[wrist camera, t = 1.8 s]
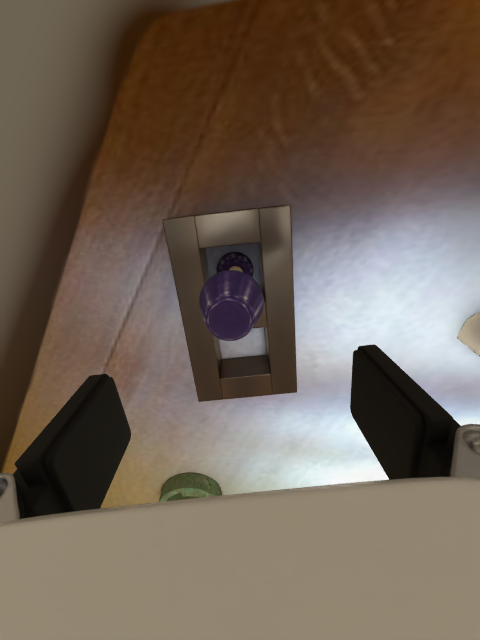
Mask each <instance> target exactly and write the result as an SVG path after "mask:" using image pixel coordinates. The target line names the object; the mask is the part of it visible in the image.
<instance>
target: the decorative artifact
mask: <svg viewBox="0 0 480 640" xmlns="http://www.w3.org/2000/svg"><path fill="white" fill-rule="evenodd" d="M213 496H222V492H221V489H220V487H219V485H218V484H217V483H216V482H215V481H214V480H213V479H211V478H209V477H207V476H205V475H201V474H197V473H184V474H179V475H176V476H174V477H172V478H171V479H169V480H168V481H167V482H166V483H165V484H164V486H163V488H162V492H161V496H160V499H159V502H165V501H174V500H184V499H194V498H204V497H213Z"/></svg>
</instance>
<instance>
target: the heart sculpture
mask: <svg viewBox="0 0 480 640" xmlns="http://www.w3.org/2000/svg"><path fill="white" fill-rule="evenodd" d="M457 338H458V339H459V340H460V341H461V342H463V343H464V344H465V345H466V346H468V347H469V348H470V349H471V350H473V351H474V352H475V353H477V354H478V355H479V356H480V312H479V313H477V314H475V315H473V316H472V317H470V318H469V319H467V321H466V322H465V323H464V325H463V327H462V328H461V330H460V332H459V335H458V337H457Z"/></svg>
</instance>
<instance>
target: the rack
mask: <svg viewBox="0 0 480 640" xmlns="http://www.w3.org/2000/svg"><path fill="white" fill-rule="evenodd" d="M163 225H164V230H165V235H166V240H167V245H168V250H169V255H170V260H171V265H172V270H173V275H174V280H175V285H176V290H177V295H178V300H179V305H180V310H181V316H182V321H183V326H184V331H185V336H186V341H187V346H188V351H189V356H190V361H191V366H192V371H193V376H194V381H195V386H196V391H197V396H198V401H199V402H201V401H211V400H222V399H232V398H243V397H253V396H264V395H272V394H284V393H294V392H297V375H296V346H295V316H294V286H293V257H292V227H291V205H281V206H272V207H263V208H254V209H246V210H237V211H228V212H219V213H211V214H202V215H193V216H184V217H176V218H168V219H163ZM254 242H258V249H259V261H260V274H261V287H262V289H261V290H262V292H263V297H264V307H263V311H262V314H261V316H260V318H259V320H258V321H257V323H256V324H255V326H254V327H253V328H260V327H265V337H266V350H267V355H263V356H253V357H243V358H233V359H223V360H222V359H221V352H220V345H219V339H218V338H217V337H215V336H214V335H213V334H212V333H211V332H210V331H209V330H208V328H207V326H206V324H205V321H204V319H203V316H202V313H201V310H200V306H199V298H200V293H201V290H202V288H203V286H204V284H205V283H206V282H207V280H209V272H208V266H207V259H206V252H205V248H209V247H218V246H227V245H236V244H245V243H254Z"/></svg>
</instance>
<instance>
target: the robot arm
mask: <svg viewBox="0 0 480 640" xmlns="http://www.w3.org/2000/svg"><path fill="white" fill-rule="evenodd" d="M350 408H351V413H352V416H353V418H354V420H355V421H356V423H357V425H358V427H359V428H360V430H361V432H362V433H363V435H364V437H365V439H366V440H367V442H368V444H369V445H370V447H371V449H372V451H373V452H374V454H375V456H376V457H377V459H378V461H379V463H380V464H381V466H382V468H383V469H384V471H385V473H386V475H387V476H388V478H389V480H381V481H368V482H356V483H345V484H335V485H325V486H314V487H304V488H293V489H283V490H273V491H263V492H253V493H243V494H233V495H223V496H213V497H204V498H194V499H184V500H174V501H165V502H156V503H147V504H137V505H128V506H119V507H110V508H100V507H101V505H102V502H103V500H104V498H105V496H106V493H107V491H108V489H109V487H110V484H111V482H112V480H113V478H114V475H115V473H116V471H117V468H118V466H119V464H120V462H121V459H122V457H123V455H124V453H125V450H126V448H127V446H128V444H129V441H130V438H131V431H130V427H129V424H128V421H127V418H126V415H125V412H124V409H123V406H122V403H121V400H120V397H119V394H118V391H117V388H116V385H115V382H114V380H113V378H112V377H109V376H108V375H107V374H101V375H92V376H89V377H88V378H87V379H86V381H85V382H84V383H83V384H82V385H81V386H80V388H79V389H78V390H77V391H76V392H75V393H74V395H73V396H72V397H71V398H70V399H69V400H68V402H67V403H66V404H65V405H64V406H63V408H62V409H61V410H60V411H59V412H58V413H57V415H56V416H55V417H54V418H53V419H52V420H51V422H50V423H49V424H48V425H47V426H46V427H45V429H44V430H43V431H42V432H41V433H40V434H39V436H38V437H37V438H36V439H35V440H34V441H33V443H32V444H31V445H30V446H29V447H28V448H27V450H26V451H25V452H24V453H23V454H22V455H21V457H20V458H19V459H18V460H17V461H16V462H15V465H16V467H17V470H16V471H15V473H14V474H13V475H12V474H9V473H0V640H480V425H478V424H468V425H463V426H460V425H459V424H458V423H457V422H456V421H455V420H454V419H453V417H452V416H451V415H450V414H449V413H448V412H447V411H445V410H444V409H443V408H442V407H441V406H440V405H439V404H438V403H437V402H436V401H435V400H434V399H433V398H432V397H431V396H430V395H428V394H427V393H426V392H425V391H424V390H423V389H422V388H421V387H420V386H419V385H418V384H417V383H416V382H415V381H414V380H413V379H411V378H410V377H409V376H408V375H407V374H406V373H405V372H404V371H403V370H402V369H401V368H400V367H399V366H398V365H397V364H396V363H394V362H393V361H392V360H391V359H390V358H389V357H388V356H387V355H386V354H385V353H384V352H383V351H382V350H381V349H380V348H379V347H377V346H376V345H366V346H359V347H358V349H357V350H355V351H354V352H353V366H352V386H351V405H350Z"/></svg>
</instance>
